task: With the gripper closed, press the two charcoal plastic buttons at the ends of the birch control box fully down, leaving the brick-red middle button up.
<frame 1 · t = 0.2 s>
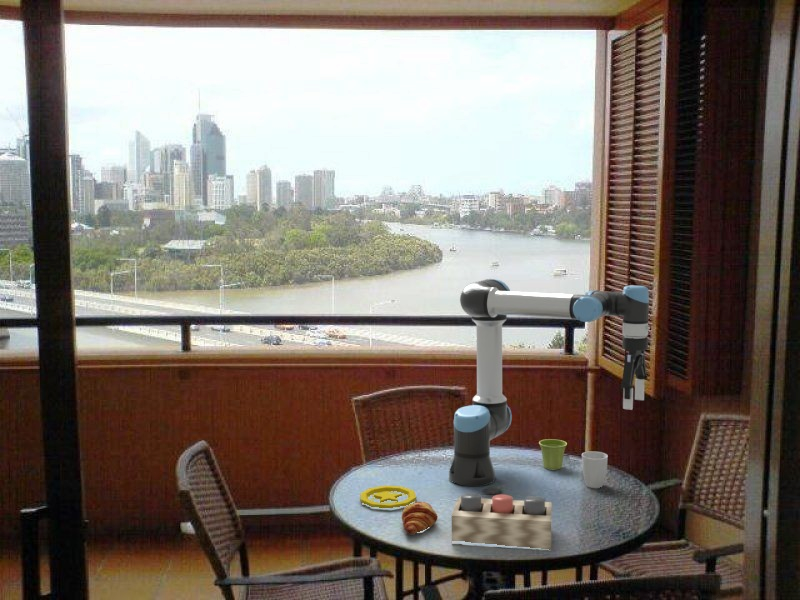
hand: (633, 404, 253), 28 cm above the table, tool pointing down, fingers open, 13 cm apart
middle button: (502, 507, 222), point 9 cm above the table, slide at 0.0 cm
plant pot: (552, 468, 281), on the table
cup: (594, 486, 263), on the table
decorative disc: (388, 502, 252), on the table
control box: (502, 537, 223), on the table
right button: (534, 508, 220), point 8 cm above the table, slide at 0.0 cm
croissant: (420, 525, 233), on the table
left button: (471, 505, 223), point 8 cm above the table, slide at 0.0 cm
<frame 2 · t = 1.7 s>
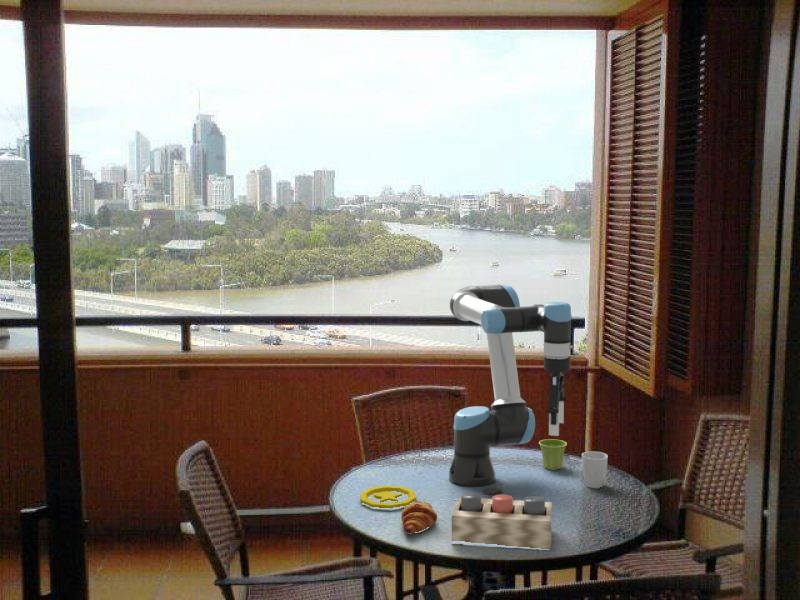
hand: (556, 428, 237), 25 cm above the table, tool pointing down, fingers open, 13 cm apart
nothing on the table moved.
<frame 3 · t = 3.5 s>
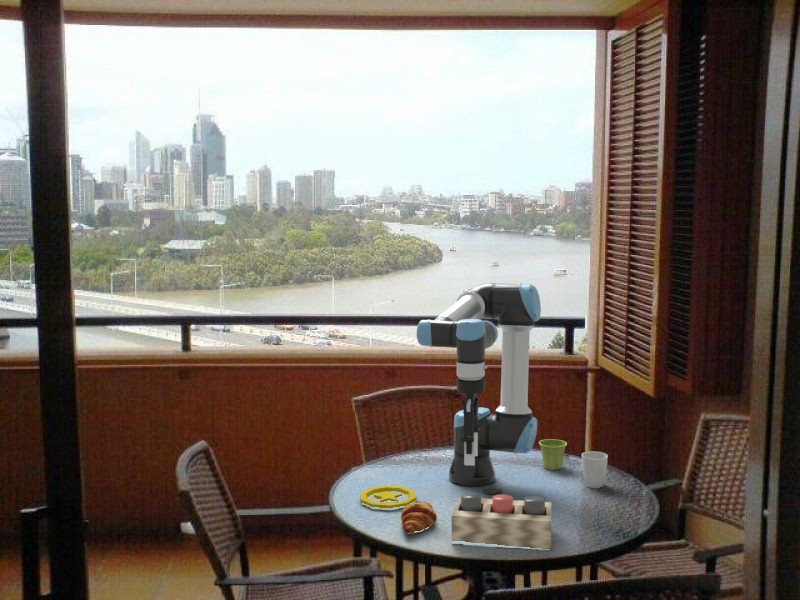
hand: (471, 460, 222), 21 cm above the table, tool pointing down, fingers open, 8 cm apart
nothing on the table moved.
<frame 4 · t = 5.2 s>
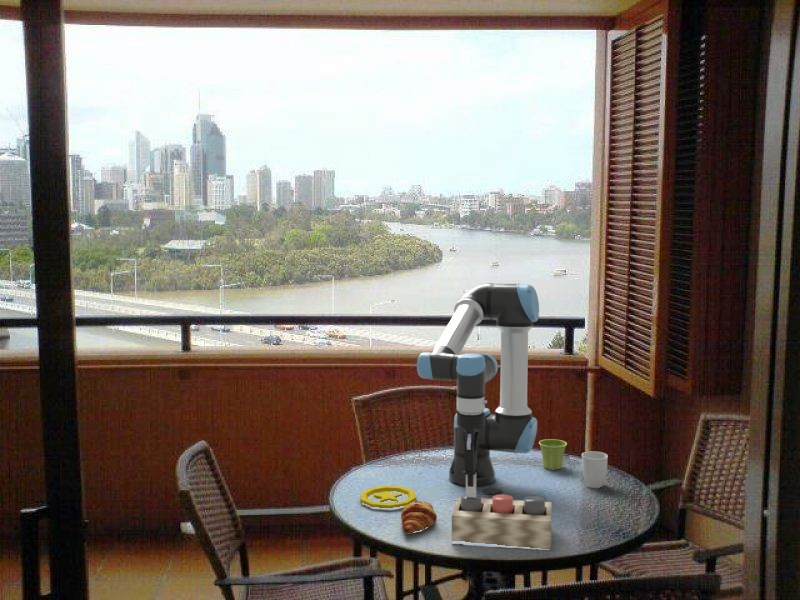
hand: (470, 496, 223), 11 cm above the table, tool pointing down, fingers closed
left button: (471, 506, 223), point 8 cm above the table, slide at 0.3 cm, touching gripper
everything else where it was.
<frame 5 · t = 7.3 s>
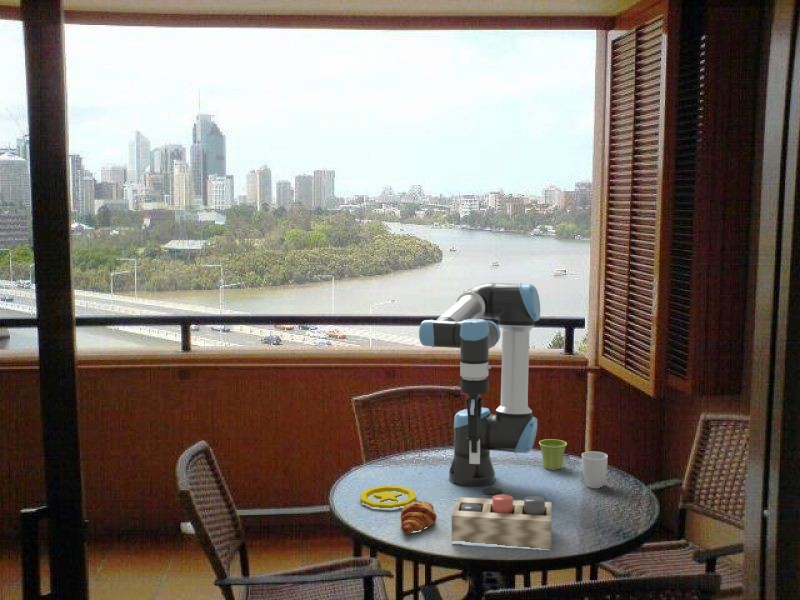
hand: (474, 462, 222), 20 cm above the table, tool pointing down, fingers closed
left button: (471, 515, 224), point 5 cm above the table, slide at 3.0 cm
everything else where it was.
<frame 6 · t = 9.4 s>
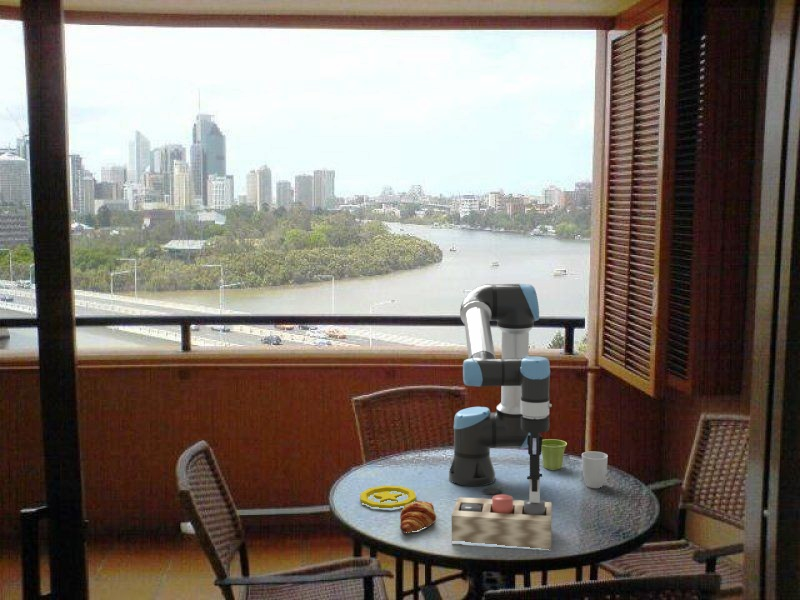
hand: (534, 501, 220), 11 cm above the table, tool pointing down, fingers closed
right button: (534, 511, 220), point 8 cm above the table, slide at 0.7 cm, touching gripper
everything else where it was.
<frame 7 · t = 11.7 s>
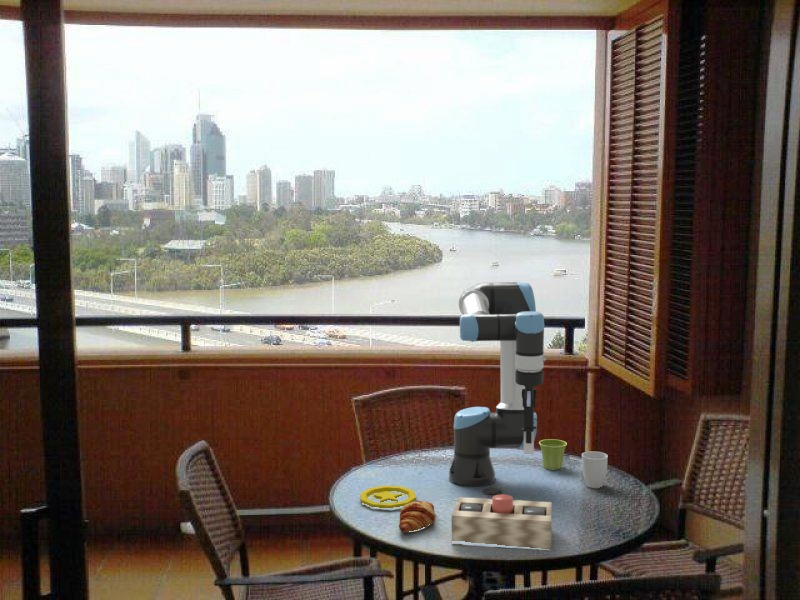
hand: (528, 453, 225), 22 cm above the table, tool pointing down, fingers closed
right button: (534, 519, 221), point 5 cm above the table, slide at 3.0 cm
everything else where it was.
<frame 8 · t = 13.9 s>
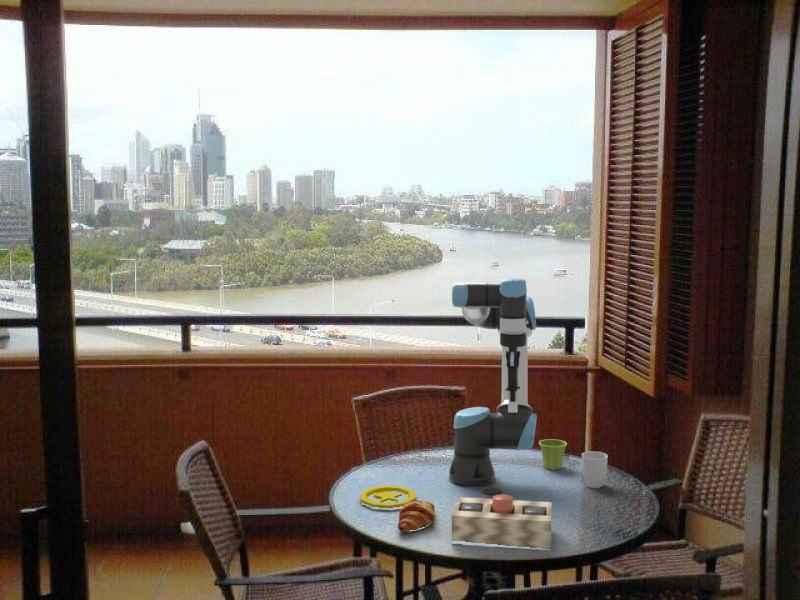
hand: (512, 411, 240), 29 cm above the table, tool pointing down, fingers closed
nothing on the table moved.
at the end: left button slide at 3.0 cm; right button slide at 3.0 cm; middle button slide at 0.0 cm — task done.
